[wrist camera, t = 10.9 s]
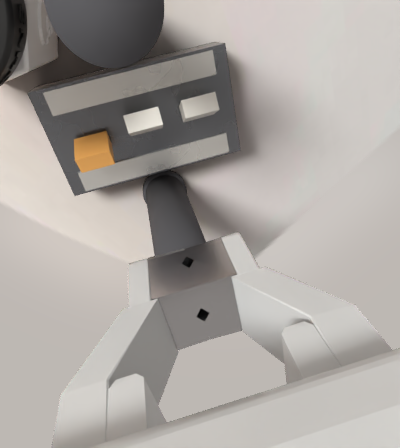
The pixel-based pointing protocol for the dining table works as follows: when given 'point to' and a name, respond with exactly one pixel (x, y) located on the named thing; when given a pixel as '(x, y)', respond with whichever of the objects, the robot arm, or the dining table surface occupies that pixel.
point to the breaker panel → (134, 102)
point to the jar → (25, 38)
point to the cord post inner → (107, 28)
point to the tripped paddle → (93, 151)
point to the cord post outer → (170, 213)
